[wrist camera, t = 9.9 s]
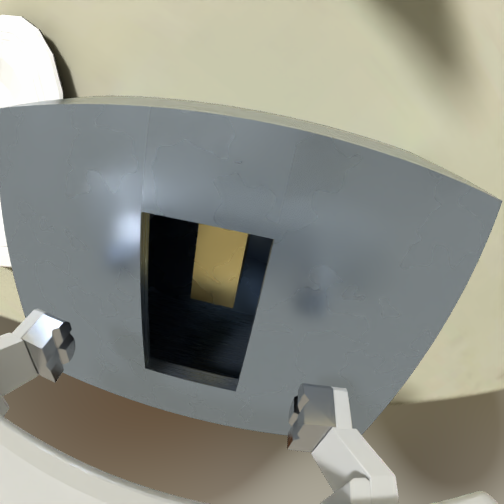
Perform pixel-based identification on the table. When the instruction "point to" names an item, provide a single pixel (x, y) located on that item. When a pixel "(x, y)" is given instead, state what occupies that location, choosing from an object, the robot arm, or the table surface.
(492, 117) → the table surface
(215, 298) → the brushed brass bar
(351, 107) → the table surface
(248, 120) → the coin box
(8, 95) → the plate
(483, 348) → the table surface
